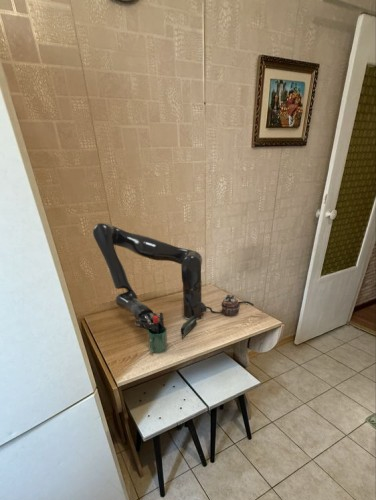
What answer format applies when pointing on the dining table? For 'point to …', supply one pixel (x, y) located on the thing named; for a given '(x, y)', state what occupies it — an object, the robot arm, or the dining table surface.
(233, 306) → the cupcake
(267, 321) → the dining table surface
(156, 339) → the mug
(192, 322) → the mobile phone
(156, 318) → the marker
